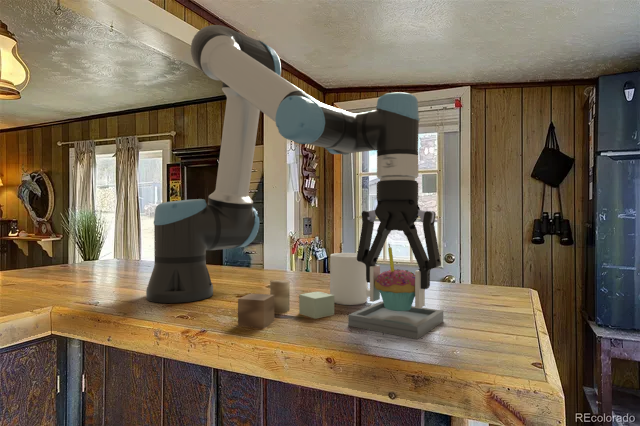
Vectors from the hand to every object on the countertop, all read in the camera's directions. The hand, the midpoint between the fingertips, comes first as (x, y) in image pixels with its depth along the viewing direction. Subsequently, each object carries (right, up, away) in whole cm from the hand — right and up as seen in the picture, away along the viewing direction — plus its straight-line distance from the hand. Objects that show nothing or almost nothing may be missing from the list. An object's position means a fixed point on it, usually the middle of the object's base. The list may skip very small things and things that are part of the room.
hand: (396, 303), depth 73 cm
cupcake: (0, -1, 0) cm, 1 cm away
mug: (-6, -4, +18) cm, 19 cm away
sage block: (-15, -4, +7) cm, 17 cm away
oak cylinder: (-22, -4, +10) cm, 25 cm away
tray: (0, -4, 0) cm, 4 cm away
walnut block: (-26, -4, 0) cm, 26 cm away
